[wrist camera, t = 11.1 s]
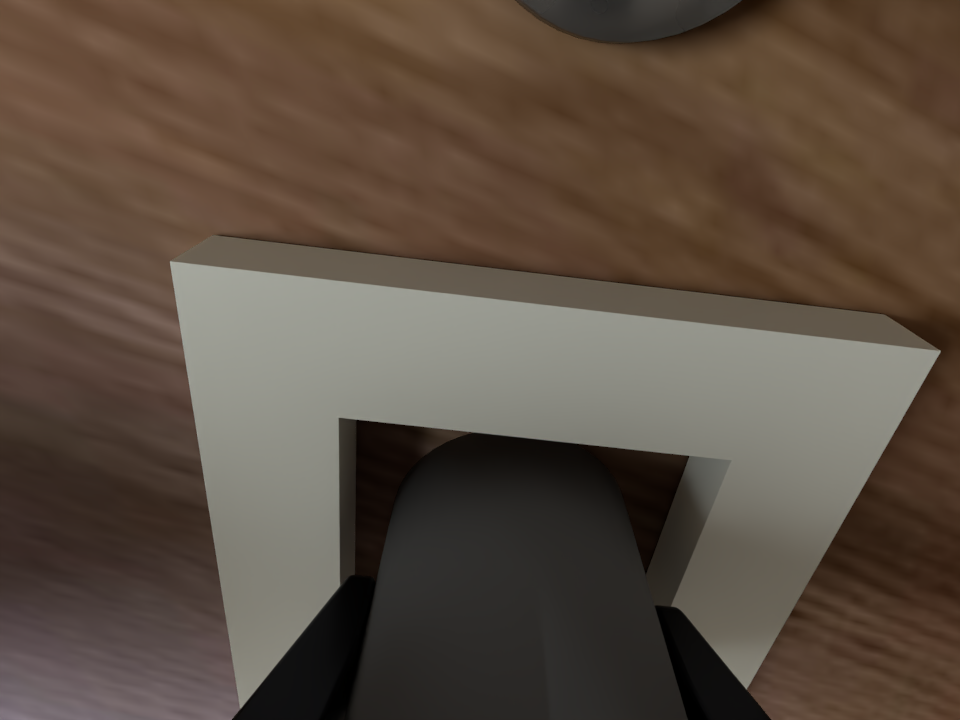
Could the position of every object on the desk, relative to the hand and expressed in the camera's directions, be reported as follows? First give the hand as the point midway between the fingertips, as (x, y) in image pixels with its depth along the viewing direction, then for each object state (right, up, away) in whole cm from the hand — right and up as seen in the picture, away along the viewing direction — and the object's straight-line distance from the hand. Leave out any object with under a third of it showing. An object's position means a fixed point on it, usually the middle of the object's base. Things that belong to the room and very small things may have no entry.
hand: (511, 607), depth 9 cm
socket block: (0, +1, +2) cm, 2 cm away
